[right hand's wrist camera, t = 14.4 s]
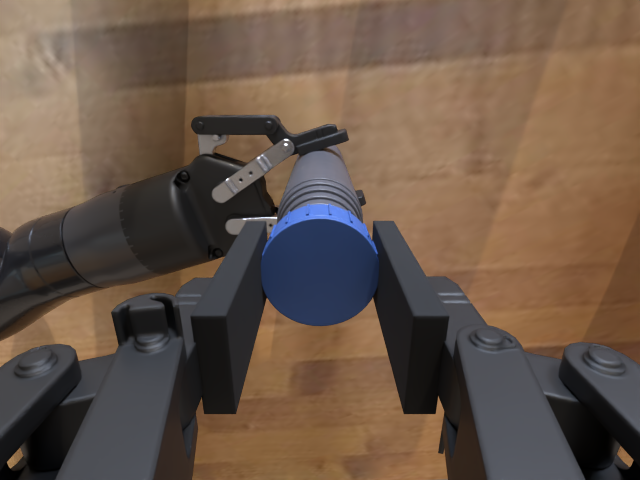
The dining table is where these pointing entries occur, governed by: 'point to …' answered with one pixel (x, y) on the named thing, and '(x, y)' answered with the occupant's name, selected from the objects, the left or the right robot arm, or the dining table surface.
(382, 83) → the dining table surface
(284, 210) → the bottle
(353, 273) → the cap
